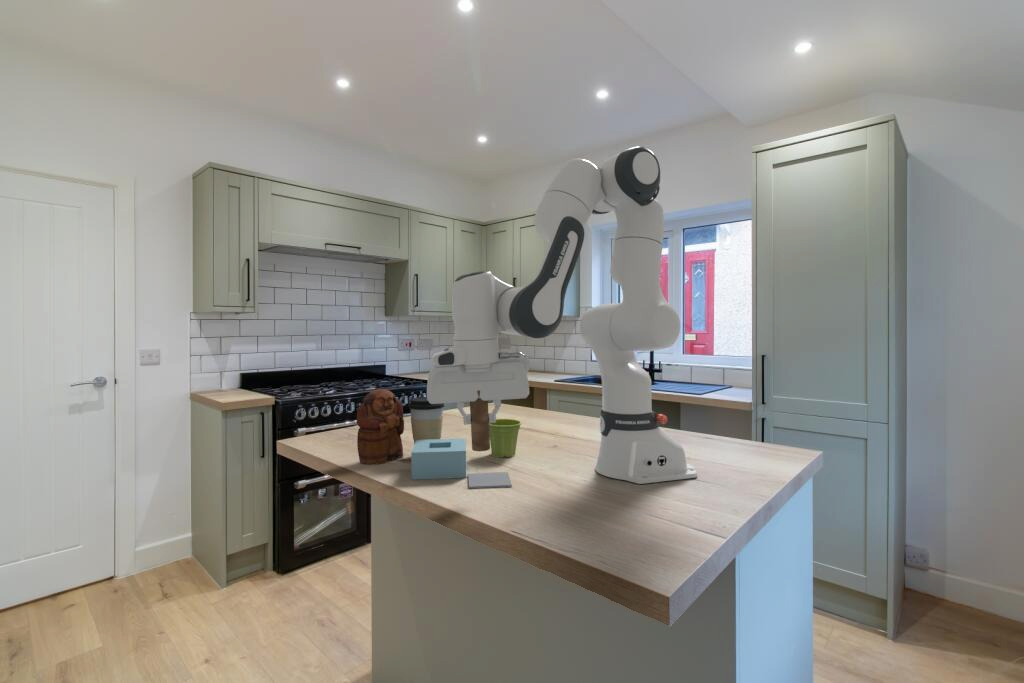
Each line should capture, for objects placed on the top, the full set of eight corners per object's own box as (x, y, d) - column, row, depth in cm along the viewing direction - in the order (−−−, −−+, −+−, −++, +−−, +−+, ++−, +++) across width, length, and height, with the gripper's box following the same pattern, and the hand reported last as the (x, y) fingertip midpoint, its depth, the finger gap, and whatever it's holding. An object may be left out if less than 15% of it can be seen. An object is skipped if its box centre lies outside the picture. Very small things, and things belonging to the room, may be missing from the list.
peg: (489, 445, 99) (486, 387, 98) (490, 450, 95) (487, 390, 94) (471, 447, 98) (469, 388, 98) (472, 451, 95) (469, 391, 94)
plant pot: (500, 448, 134) (500, 417, 133) (528, 453, 128) (528, 421, 128) (478, 456, 126) (478, 422, 126) (507, 461, 121) (507, 427, 120)
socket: (465, 462, 120) (465, 438, 120) (466, 477, 108) (465, 450, 108) (416, 464, 119) (416, 439, 119) (411, 479, 107) (411, 452, 107)
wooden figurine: (370, 467, 116) (369, 393, 116) (355, 463, 120) (353, 391, 120) (409, 456, 126) (408, 387, 125) (393, 452, 130) (392, 386, 129)
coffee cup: (442, 461, 121) (441, 401, 121) (404, 461, 121) (403, 401, 121) (447, 451, 131) (447, 396, 130) (412, 451, 131) (412, 396, 130)
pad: (507, 473, 111) (507, 472, 111) (511, 486, 102) (511, 484, 102) (468, 475, 110) (468, 473, 110) (468, 488, 101) (468, 486, 101)
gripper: (526, 350, 100) (529, 416, 101) (426, 355, 98) (429, 422, 98) (530, 352, 93) (533, 423, 94) (423, 358, 91) (427, 430, 92)
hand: (479, 423), depth 96 cm, fingers closed on peg, 4 cm apart
